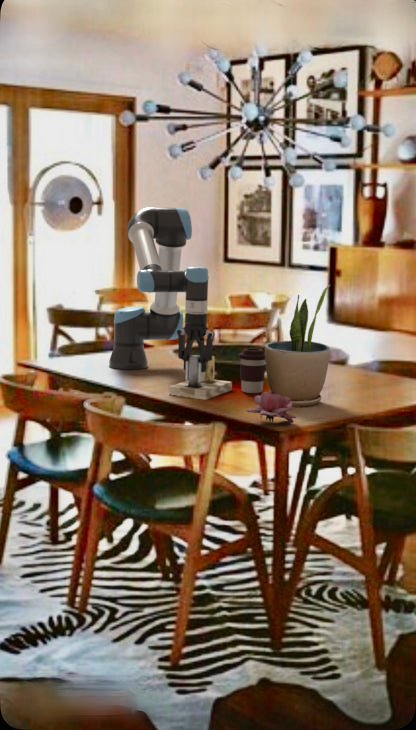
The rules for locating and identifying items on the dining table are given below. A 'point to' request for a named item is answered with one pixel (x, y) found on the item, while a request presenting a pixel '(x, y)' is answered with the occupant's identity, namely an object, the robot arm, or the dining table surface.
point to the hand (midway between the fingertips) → (194, 380)
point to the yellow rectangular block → (209, 372)
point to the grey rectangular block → (193, 371)
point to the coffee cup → (252, 370)
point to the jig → (201, 389)
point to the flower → (273, 406)
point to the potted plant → (298, 361)
